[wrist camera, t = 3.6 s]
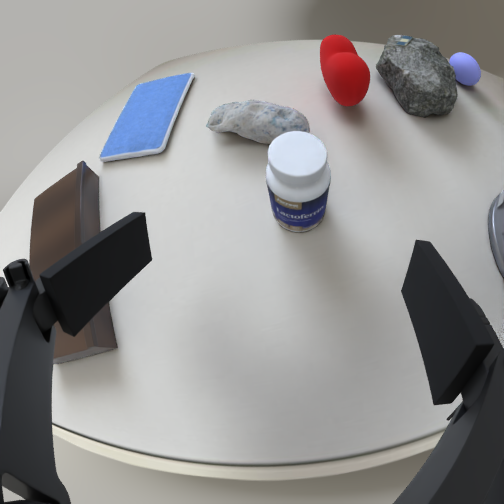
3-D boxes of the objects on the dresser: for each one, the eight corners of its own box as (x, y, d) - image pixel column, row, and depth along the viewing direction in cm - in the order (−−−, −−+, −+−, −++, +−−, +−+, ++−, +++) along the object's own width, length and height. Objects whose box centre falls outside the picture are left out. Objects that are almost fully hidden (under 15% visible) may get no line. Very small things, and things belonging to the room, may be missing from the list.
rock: (473, 127, 28) (480, 77, 19) (395, 132, 34) (388, 80, 26) (435, 67, 34) (431, 25, 26) (371, 72, 40) (359, 30, 32)
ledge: (119, 347, 28) (94, 346, 23) (58, 363, 28) (34, 362, 24) (99, 175, 37) (83, 160, 32) (49, 208, 37) (32, 197, 33)
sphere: (480, 93, 31) (491, 69, 25) (459, 91, 32) (470, 65, 25) (460, 71, 34) (468, 48, 27) (439, 69, 34) (447, 44, 28)
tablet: (138, 87, 43) (136, 83, 42) (196, 75, 41) (194, 70, 40) (100, 164, 38) (96, 160, 36) (166, 155, 35) (162, 149, 34)
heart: (314, 80, 36) (313, 28, 27) (347, 79, 35) (350, 29, 26) (331, 130, 32) (335, 69, 23) (369, 129, 31) (382, 71, 22)
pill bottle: (276, 237, 29) (265, 187, 19) (269, 191, 31) (256, 131, 21) (330, 229, 28) (342, 176, 19) (319, 183, 30) (323, 122, 21)
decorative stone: (313, 119, 33) (313, 91, 28) (306, 155, 31) (306, 127, 27) (221, 113, 36) (212, 87, 31) (206, 146, 34) (194, 121, 30)
